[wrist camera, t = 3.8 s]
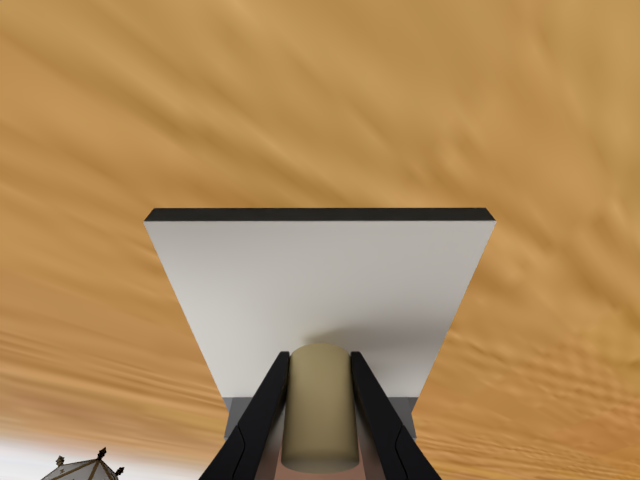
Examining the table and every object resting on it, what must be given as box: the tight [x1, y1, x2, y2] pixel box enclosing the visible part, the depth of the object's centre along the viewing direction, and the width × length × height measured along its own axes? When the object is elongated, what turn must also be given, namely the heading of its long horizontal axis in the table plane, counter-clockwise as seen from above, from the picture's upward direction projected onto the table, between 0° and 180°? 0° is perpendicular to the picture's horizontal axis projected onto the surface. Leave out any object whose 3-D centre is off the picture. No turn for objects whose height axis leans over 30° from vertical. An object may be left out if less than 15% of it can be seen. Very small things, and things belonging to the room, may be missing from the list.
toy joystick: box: [274, 343, 366, 480], centre depth 16 cm, size 17×6×4 cm, turn 0°
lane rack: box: [143, 208, 497, 441], centre depth 17 cm, size 25×11×3 cm, turn 0°
